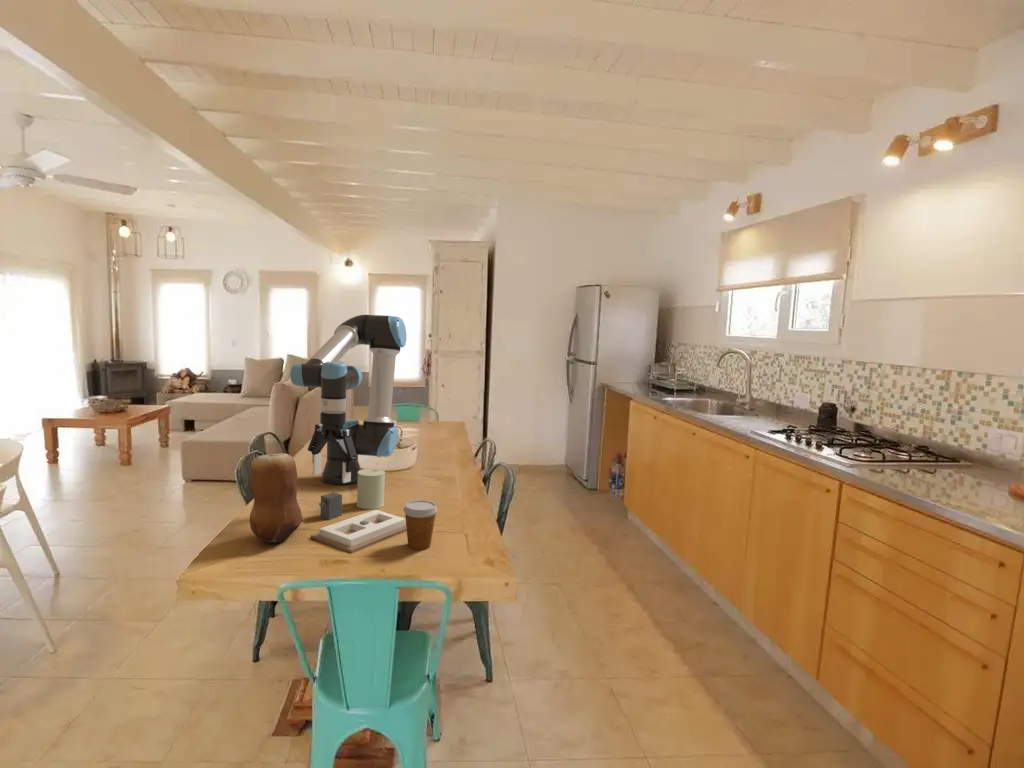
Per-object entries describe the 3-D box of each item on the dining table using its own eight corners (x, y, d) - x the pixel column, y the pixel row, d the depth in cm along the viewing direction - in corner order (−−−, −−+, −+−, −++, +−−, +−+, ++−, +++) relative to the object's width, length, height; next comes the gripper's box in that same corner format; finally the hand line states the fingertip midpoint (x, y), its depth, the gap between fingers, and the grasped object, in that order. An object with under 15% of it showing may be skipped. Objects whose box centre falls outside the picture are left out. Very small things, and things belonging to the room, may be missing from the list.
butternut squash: (263, 530, 170) (263, 447, 167) (308, 533, 169) (309, 449, 167) (239, 549, 156) (239, 458, 153) (288, 552, 156) (289, 461, 153)
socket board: (310, 537, 166) (310, 526, 166) (374, 515, 187) (374, 505, 187) (351, 553, 157) (352, 541, 157) (414, 527, 178) (414, 517, 178)
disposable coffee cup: (404, 539, 169) (405, 499, 168) (436, 539, 170) (438, 500, 168) (400, 552, 160) (401, 510, 158) (435, 552, 160) (436, 511, 159)
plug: (315, 518, 182) (316, 497, 181) (333, 513, 187) (333, 492, 186) (324, 521, 179) (324, 499, 179) (341, 516, 185) (342, 494, 184)
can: (389, 503, 200) (390, 469, 199) (374, 511, 191) (375, 475, 190) (366, 499, 203) (367, 465, 202) (351, 506, 194) (351, 472, 193)
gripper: (297, 407, 184) (295, 472, 186) (351, 418, 171) (349, 488, 173) (316, 405, 190) (315, 468, 192) (370, 415, 177) (368, 483, 179)
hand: (331, 478), depth 182 cm, fingers open, 13 cm apart
